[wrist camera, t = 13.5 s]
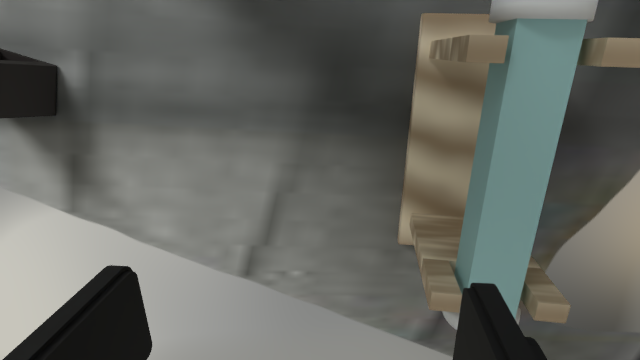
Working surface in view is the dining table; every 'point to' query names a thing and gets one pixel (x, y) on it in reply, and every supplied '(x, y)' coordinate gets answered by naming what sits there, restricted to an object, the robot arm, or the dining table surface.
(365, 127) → the dining table surface
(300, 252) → the dining table surface
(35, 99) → the phone stand
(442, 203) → the stand
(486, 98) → the teal long bar
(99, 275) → the robot arm
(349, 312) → the dining table surface
